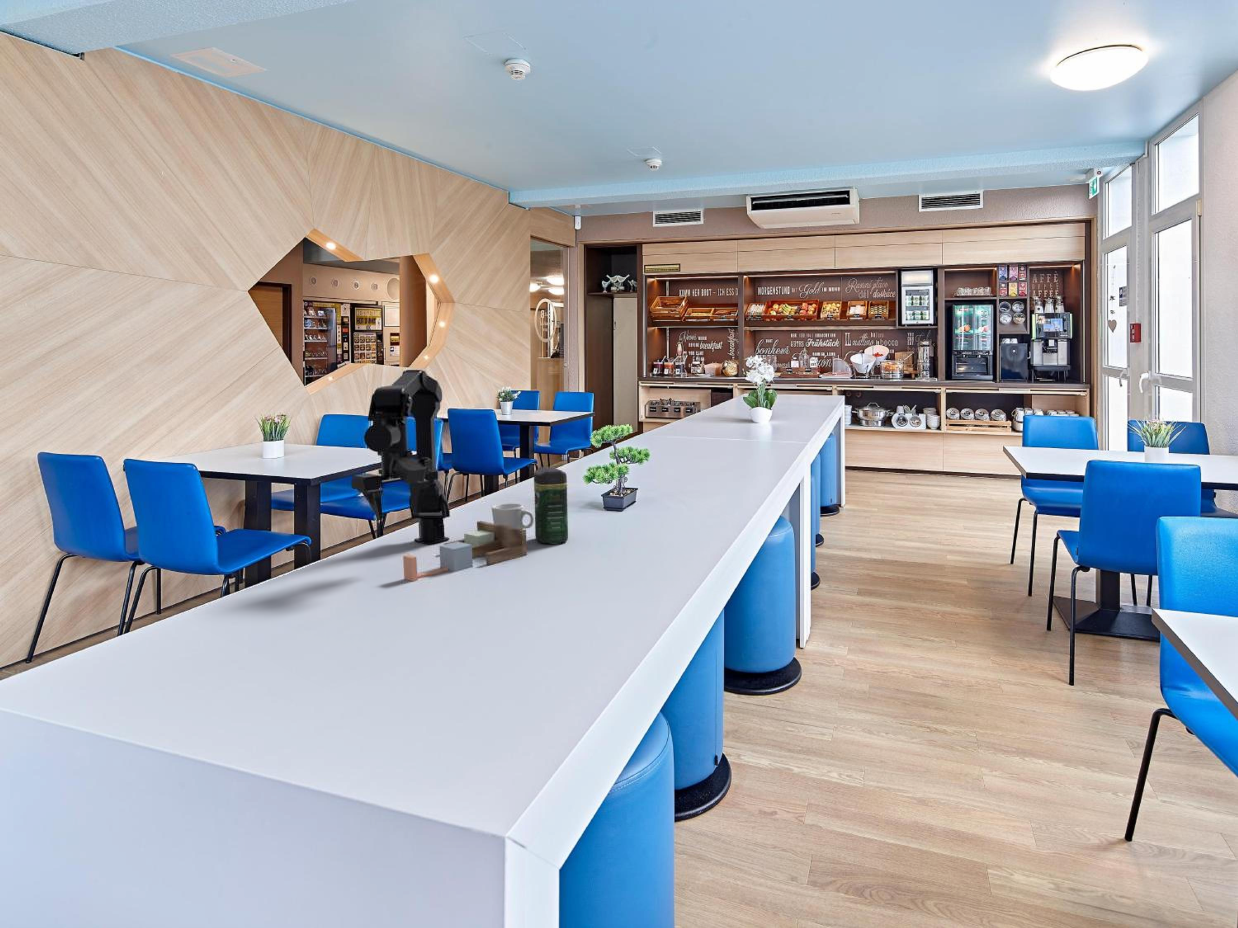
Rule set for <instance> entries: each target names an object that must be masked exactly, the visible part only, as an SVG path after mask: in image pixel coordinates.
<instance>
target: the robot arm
mask: <svg viewBox="0 0 1238 928" xmlns="http://www.w3.org/2000/svg"><path fill="white" fill-rule="evenodd" d="M442 400H443V390H442V388H441V385H440V383H439V382H438V380H436V379H434V378H433V377H431V376H429V375H428V374H427V372H426V370H423V369H406V370H403V371H402V373H401V375H400V377H398V378H397V379H396V380H395V381H394V382H393V383H392V384H390V385H387V386H386V385H384V386H380V387H377V388H376V389H375V390H374V392H373V393H372V395H371V400H370V405H369V408H368V409H369V411H368V415H367V416H368V417H367V421H368V422H372V424H371V425H370V426H368V428H367V429H366V430H365V432H364V435H363V440H364V444H365V446H366V447H367V448H368V449H369V450H370V451H372V452H376V453H377V456H380V459H381V468H379V469H378V474H373V473H362V474H356V475H355V474H354V475H353V477H352V478H351V480H350V483H351V489H353V490H356V492H359V493H361V494H362V495H363V497H364V498H365V500H366V501H367V502H368V504H369V506H370V508H371V509H372V512H373V513H374V515H375V517H376V518H377V520H378V521H383V506H382V505H383V504H382V496H383V494H384V489H381V487H382V486H383V485H385V484H392V483H398V482H403V483H405V484H408V486H409V493H410V496H409V499H408V502H409V503H408V504H409V511H410V515H411V519H413V520H414V519H418V520H417V521H418V537H417V538H414V540H413V541H414V542H418V543H422V544H425V545H433V544H437V543H441V542H445V541H449V540H450V537H447V536H445V523H444V519H447V518H450V517H451V514H450V513H451V510H450V505H449V502H448V500H447V497H446V494H444V493H445V492H444V487H443V485H442V483H441V482H440V480H439V479H440V478H439V471H438V468H437V467H436V466H437V463H436V461H437V460H436V459H437V458H436V439H435V438H436V436H435V435H436V434H435V431H436V430H435V418H436V417H437V415H438V413H439V412H440V410H441V403H442ZM410 414H411V416H412V417H413V420H414V423H415V424H414V425H415V448H416V449H415V451H416V452H415V453H416V458H414V455H413V452H412V450H411V449H409V447H408V446H409V445H408V429H407V425H408V424H407V422H408V420H407V419H408V417H410Z"/></svg>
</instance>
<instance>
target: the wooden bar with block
mask: <svg viewBox="0 0 1238 928" xmlns="http://www.w3.org/2000/svg"><path fill="white" fill-rule="evenodd" d="M402 558H403V576H404V577H403V578H404V580H407V581H410V582H415V581H418V579H421V578H425V577H428V576H433V575H436V574H439V573H444V572H447V571H451V572H454V573H455V572H458V571H462V570H466V569H470V568H473V567H474V566H473V563H474V562H473V559H472V545H470V544H466V543H461V542H454V543H450V544H446V545H444V544H441V545H439V562H440V564H439V565H440V568H438V569H434V570H430V571H426V572H422V573H419V574H418V567H417V566H418V565H417V563H418V562H417V556H414V555H410V554H405V555H402Z"/></svg>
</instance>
